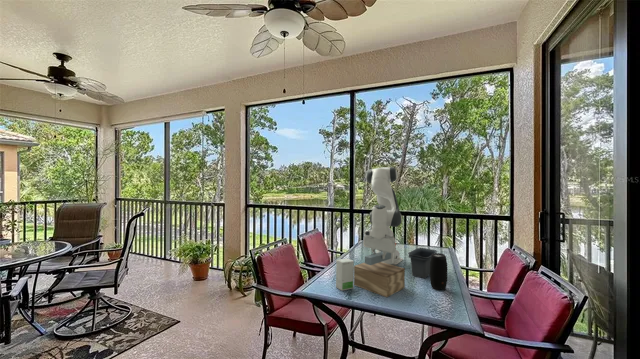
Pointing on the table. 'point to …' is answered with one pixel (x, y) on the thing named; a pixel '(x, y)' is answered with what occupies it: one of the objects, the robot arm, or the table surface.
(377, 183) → the robot arm
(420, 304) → the table surface
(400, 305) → the table surface
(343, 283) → the skincare box
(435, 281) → the portable speaker
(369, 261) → the grey rectangular bar
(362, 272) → the box
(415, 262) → the storage bin
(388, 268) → the lid
